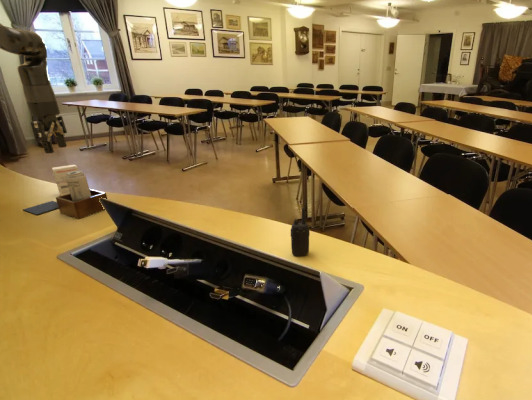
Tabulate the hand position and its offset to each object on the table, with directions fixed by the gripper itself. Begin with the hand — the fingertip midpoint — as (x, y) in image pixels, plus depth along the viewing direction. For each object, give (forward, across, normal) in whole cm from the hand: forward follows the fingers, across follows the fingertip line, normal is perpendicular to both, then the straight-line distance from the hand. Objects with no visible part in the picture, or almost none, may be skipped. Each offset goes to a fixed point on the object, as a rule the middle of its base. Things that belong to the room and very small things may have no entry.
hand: (56, 150), depth 108 cm
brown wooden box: (+25, -7, 0) cm, 26 cm away
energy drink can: (+25, -7, 0) cm, 26 cm away
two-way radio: (+25, +42, +76) cm, 91 cm away
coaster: (+25, -12, -16) cm, 33 cm away
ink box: (+26, -30, -14) cm, 42 cm away
